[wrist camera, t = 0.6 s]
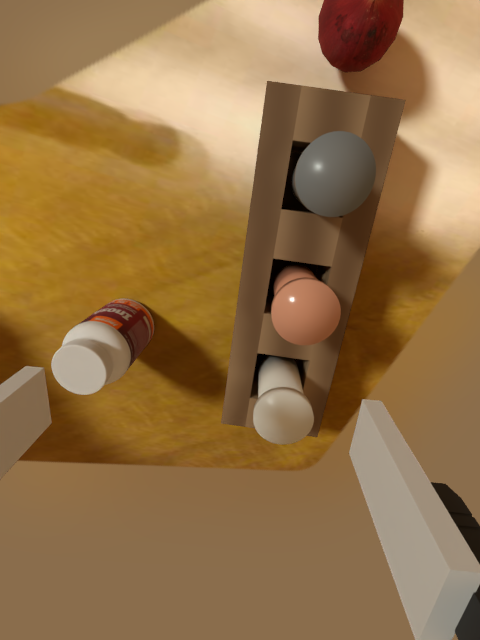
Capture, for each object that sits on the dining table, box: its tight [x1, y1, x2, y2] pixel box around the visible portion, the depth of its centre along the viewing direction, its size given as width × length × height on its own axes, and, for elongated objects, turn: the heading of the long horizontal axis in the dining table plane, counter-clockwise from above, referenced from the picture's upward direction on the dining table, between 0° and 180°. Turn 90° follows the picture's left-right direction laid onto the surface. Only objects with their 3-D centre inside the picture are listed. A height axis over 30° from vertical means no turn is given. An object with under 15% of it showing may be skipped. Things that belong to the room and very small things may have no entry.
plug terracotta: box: [271, 264, 341, 345], centre depth 27 cm, size 5×5×8 cm
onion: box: [318, 0, 404, 72], centre depth 24 cm, size 6×6×8 cm
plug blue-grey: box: [291, 131, 376, 217], centre depth 24 cm, size 5×5×8 cm
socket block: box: [221, 81, 405, 437], centre depth 32 cm, size 10×30×6 cm, turn 173°
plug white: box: [253, 355, 314, 444], centre depth 30 cm, size 5×5×8 cm
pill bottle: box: [51, 299, 154, 395], centre depth 33 cm, size 6×6×11 cm
